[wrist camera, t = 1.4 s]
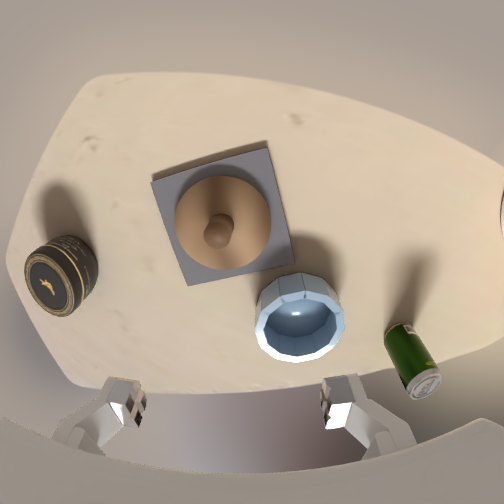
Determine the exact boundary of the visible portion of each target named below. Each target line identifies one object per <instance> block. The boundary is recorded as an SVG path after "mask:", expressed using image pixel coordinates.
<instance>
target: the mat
mask: <svg viewBox="0 0 504 504" xmlns="http://www.w3.org/2000/svg"><path fill="white" fill-rule="evenodd" d="M217 175H229V176H234V177H237V178H240V179H243V180H245V181H247V182H248V183H250V184H251V185H253V186H254V187H255V188H256V189H257V190H258V191H259V192H260V193H261V194H262V196H263V197H264V199H265V201H266V203H267V205H268V208H269V211H270V216H271V233H270V237H269V240H268V243H267V245H266V247H265V248H264V250H263V251H262V253H261V254H260V255H259V256H258V257H257V258H256V259H254V260H253V261H252V262H250V263H249V264H247V265H245V266H242V267H240V268H236V269H231V270H218V269H213V268H209V267H206V266H204V265H202V264H200V263H198V262H197V261H195V260H194V259H192V258H191V257H190V256H189V255H188V254H187V253H186V252H185V250H184V249H183V248H182V246H181V244H180V243H179V240H178V238H177V235H176V232H175V223H174V219H175V212H176V208H177V206H178V203H179V201H180V199H181V198H182V196H183V195H184V194H185V192H186V191H187V190H188V189H189V188H190V187H192V186H193V185H194V184H196V183H197V182H199V181H201V180H203V179H205V178H208V177H211V176H217ZM150 183H151V186H152V190H153V193H154V196H155V199H156V202H157V205H158V208H159V210H160V213H161V216H162V219H163V222H164V225H165V228H166V230H167V233H168V236H169V239H170V241H171V244H172V247H173V250H174V252H175V255H176V258H177V260H178V263H179V265H180V268H181V270H182V273H183V276H184V278H185V281H186V283H187V286H192V285H196V284H201V283H206V282H210V281H215V280H220V279H224V278H229V277H234V276H238V275H243V274H247V273H252V272H256V271H261V270H265V269H270V268H274V267H279V266H283V265H287V264H292V263H295V260H294V256H293V251H292V247H291V242H290V238H289V234H288V229H287V225H286V221H285V216H284V212H283V208H282V204H281V200H280V196H279V192H278V188H277V184H276V180H275V176H274V172H273V168H272V164H271V160H270V156H269V153H268V149H267V148H263V149H259V150H255V151H251V152H247V153H243V154H240V155H236V156H232V157H228V158H225V159H221V160H218V161H214V162H211V163H208V164H204V165H201V166H198V167H195V168H191V169H188V170H185V171H182V172H179V173H176V174H173V175H170V176H167V177H164V178H161V179H158V180H155V181H153V182H150Z"/></svg>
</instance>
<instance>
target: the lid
mask: <svg viewBox="0 0 504 504" xmlns="http://www.w3.org/2000/svg"><path fill="white" fill-rule="evenodd" d="M174 223H175V232H176V235H177V238H178V240H179V243H180V244H181V246H182V248H183V249H184V250H185V252H186V253H187V254H188V255H189V256H190V257H191V258H192V259H194V260H195V261H197V262H198V263H200V264H202V265H204V266H206V267H209V268H213V269H218V270H231V269H236V268H240V267H242V266H245V265H247V264H249V263H250V262H252V261H253V260H254V259H256V258H257V257H258V256H259V255H260V254H261V253H262V251H263V250H264V248H265V247H266V245H267V243H268V240H269V237H270V233H271V216H270V211H269V208H268V205H267V203H266V201H265V199H264V197H263V196H262V194H261V193H260V192H259V191H258V190H257V189H256V188H255V187H254V186H253V185H251V184H250V183H248V182H247V181H245V180H243V179H240V178H237V177H234V176H229V175H217V176H211V177H208V178H205V179H203V180H201V181H199V182H197V183H196V184H194V185H193V186H192V187H190V188H189V189H188V190H187V191H186V192H185V194H184V195H183V196H182V198H181V199H180V201H179V203H178V206H177V208H176V212H175V219H174Z"/></svg>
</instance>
